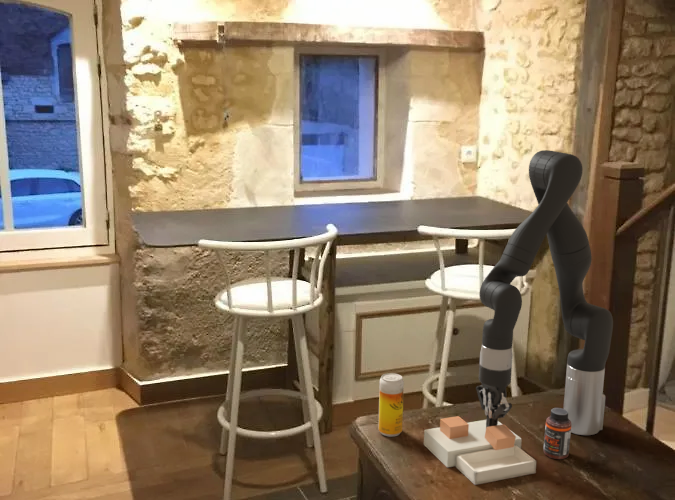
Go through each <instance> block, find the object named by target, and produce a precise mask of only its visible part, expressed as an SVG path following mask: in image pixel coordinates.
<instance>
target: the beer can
mask: <svg viewBox="0 0 675 500" xmlns="http://www.w3.org/2000/svg"><path fill="white" fill-rule="evenodd" d="M404 385H405V380H404V379H403V376H402V375H401V374H398V373H394V372H391V373H390V372H389V373H384V374H382V375H381V377H380V379H379V388H378V389H379V391H378V395H379V396H378V398H379V399H378V426H377V427H378V428H377V429H378V431H379V432H380V434H381V435H382V436H385V437H390V438H391V437H392V438H393V437H397V436H399V435H400V434H401V433H402V432H403V418H404V415H403V414H404Z"/></svg>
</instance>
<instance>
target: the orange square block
mask: <svg viewBox="0 0 675 500" xmlns="http://www.w3.org/2000/svg"><path fill="white" fill-rule="evenodd" d="M468 423H469V422H466V421H465V420H464V419H462V418H461V417H460V416H458V415H457V416H450V417H445V418H440V420H439V427H440V431H441V432H442V433H444V434H445V435H446V436H447V437H448V438H449V439H453V438H459V437H465V436H468V428H469V424H468Z"/></svg>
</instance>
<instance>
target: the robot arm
mask: <svg viewBox="0 0 675 500" xmlns="http://www.w3.org/2000/svg"><path fill="white" fill-rule="evenodd" d="M583 170H584V168H583V164H582V162H581V160H580V159H579V157H577V156H576V155H574V154H571V153H565V152H560V151H556V150H545V149H543V150H540V151H537V152H536V153H535V154H533V156H532V157H531V159H530V161H529V165H528V177H529V182H530V184H531V187H532V191H533V193H534V197H535V198H536V202H537V204H538V205H537V207H535V208H534V210H533V211H532V212H531V213H530V214H529V215H528V216H527V217H526V218H525V219H524V220H523V221H522V222H521V223H520V224H519V225H518V226H517V227H516V229H515V230H514V231H513V232H512V234H511V235H510V237H509V239H508V242H507V243H506V246H505V248H504V250H503V252H502V254H501V256H500V259H499V260H498V262H497V263H496V264H495V265H494V266H493V267H492V269H491V270H490V272H489V273H488V274H487V275H486V277H485V278H484V279H483V281H482V283H481V285H480V289H479V300H480V302H481V303H482V304H483V306H485V307H487V308H489V309H491V310H493V311H494V314H493V317H492V318H489V319H487V320H486V321H485V322H484V324H483V326H482V334H481V335H482V339H481V348H480V353H479V366H478V367H479V368H478V380H479V382H480V383H481V385H477V386H476V387H475V390H476V393H477V398H478V401H479V404H480V407H481V410H482V411H484V415H485V416H486V417H485V418H486V419H485V420H486V427H490V426H496V425H497V424H498V421H499V419H503V418H505V417H506V415H507V414H508V413H509V412H510V411H511V409H512V408H513V405H512V403H511V402H508V401H507V395H508V394H507V387H508V386H509V385H510V384H511V382H512V369H513V368H512V367H513V355H514V354H513V339H514V330H515V326H516V324H517V322H518V318H519V317H520V313H521V310H522V309H521V308H522V307H523V306H522V305H523V298H522V294H521V291H520V290H519V289H518V287H516V286H515V285H513V284H512V282H513V281H514V280H515V279H516V278H518V277H526V275H528V273H529V271H530V269H531V267H532V265H533V262H534V260H535V258H536V256H537V254H538V252H539V251H540V250H539V249H540V247H541V246H542V243H543V241H544V239H545V238H546V237H547V241H548V246H549V252H550V256H551V260H552V263H553V268H554V272H555V276H556V281H557V285H558V292H559V297H560V298H559V300H560V308H561V317H562V322H563V326H564V329H565V331H566V332H567V333H568V334H569V335H570V336H573V337H575V338H578V339H579V340H583V341H584V345H583V348H578V349H573V350H571V351H570V352H569V353H568V355H567V359H566V360H567V361H566V374H565V386H564V399H563V409H565V410H567V411H568V419H569V420H570V421H571V433H572V434H575V435H581V436H591V435H592V436H593V435H595V434H598V433H599V432H600V431H603V426H604V415H605V407H606V406H605V405H606V395H605V394H604V392H603V391H604V382H605V381H604V380H605V371H606V362H607V360H608V357H609V354H610V349H611V342H612V336H613V328H614V319H613V316H612V312H611V311H610V310H609V309H607V308H605V307H602V306H598V305H595V304H593V303H589V302H588V301H587V300H586V297H585V294H584V288H583V287H584V286H583V283H584V280H585V278H586V276H587V274H588V272H589V270H590V267H591V265H592V260H593V259H592V257H593V256H592V252H591V251H592V250H591V247H590V242H589V237H588V234H587V231H586V229H585V227H584V226H583V225H582V223H581V221H580V220H579V218H578V217H577V216H576V214H575V213H574V212H573V210H572V208H571V207H570V205H569V204H568V202H569V200H570V199H571V197H572V196H573V194H574V193H575V191H576V190H577V188H578V186H579V184H580V182H581V180H582V177H583Z"/></svg>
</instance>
